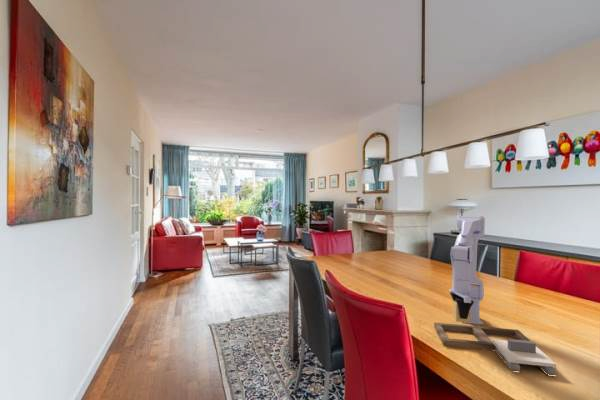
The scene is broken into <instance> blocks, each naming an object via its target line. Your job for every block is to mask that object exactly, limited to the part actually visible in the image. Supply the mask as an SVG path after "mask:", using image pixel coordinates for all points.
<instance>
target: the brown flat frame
mask: <svg viewBox="0 0 600 400" xmlns="http://www.w3.org/2000/svg"><path fill="white" fill-rule="evenodd" d="M433 324H434V330H435V332H436V334H437V335H438V337H439V341H441V344H442V346H443V345H446V347H453V346H458V347H457V348H463V347H468V348H467V349H472V348H476V349H475V350H482V349H485V350H486V351H492V350H495V351H494V352H495V353H496V352H497V353H498V354H499V355H500V356H501V357H502V359H503V360H504V361H505V362H506V364H507V365H508V366H509V367H510V368H511V370H512V371H519V372H520V373H521V366H520V363H511V362H508V361H507V359H506V358H505V357H504V356H503V355H502V354H501V352H500V351H499V350H498V349H497V348H496V346H495V345H494V344H493V343H492V340H491V338H490V337H489V335H492V336H504V337H514V338H515V340H525V341H531V339H529V338H528V337H527V336H526V335H525V334H524V333H523V332H521V331H520V330H519V329H511V328H499V327H488V326H477V325H468V324H467V325H466V324H455V323H444V322H443V323H442V322H434V323H433ZM445 331H451V332H461V333H470V332H471V333H472V335H473V336H474V337H475V339H476V338H477V339H476V340H471V339H470V340H468V339H457V338H449V336H448V335H447V333H446V332H445ZM471 333H470V334H471ZM536 347H538V346H537V345H536ZM485 350H484V351H485ZM497 353H496V354H497ZM498 354H497V355H498ZM499 355H498V356H499ZM500 356H499V357H500ZM502 359H501V360H502ZM503 360H502V361H503ZM504 361H503V362H504ZM505 362H504V363H505ZM506 364H505V365H506ZM507 365H506V366H507ZM508 366H507V367H508ZM509 367H508V368H509ZM539 367H540V368H542V369H543V370H544V371H545V372H546V373H547V374H549V375H556V376H557V370H556V368H555V367H547V366H539ZM539 367H538V368H539ZM540 368H539V369H540ZM511 370H510V371H511ZM512 371H511V372H512Z"/></svg>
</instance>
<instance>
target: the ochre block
mask: <svg viewBox="0 0 600 400" xmlns="http://www.w3.org/2000/svg"><path fill="white" fill-rule="evenodd" d="M452 318H453V319H454V320H455V322H456V323H457V322H459V323H462V322H467V323H466V324H471V323H470V310H469V314H468V317H467V319H461V318H460V315H459V309H458V305H457V302H456V301H453V300H452Z"/></svg>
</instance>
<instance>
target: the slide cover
mask: <svg viewBox="0 0 600 400" xmlns="http://www.w3.org/2000/svg"><path fill="white" fill-rule="evenodd" d="M491 341H492V343H493V344H494V345H495V346H496V348H497V349H498V350H499V351H500V352H501V354H502V355H503V356H504V357H505V358H506V359H507V361H508V362H511V363H518V364H519V365H530V366H537V365H538V366H547V367H553V368H557V364H556V362H555V361H553V359H551V358H550V357H549V356H548V355H547V354H545V353H544V352H543V351H542V350H541V349H540V348H539V347H538V346H537V343H536V342H534V341H532V340H530V341H525V340H517V339H512V338H507V340H502V339H492V340H491ZM536 346H537V347H536ZM538 366H537V367H538Z"/></svg>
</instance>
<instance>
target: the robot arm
mask: <svg viewBox="0 0 600 400" xmlns="http://www.w3.org/2000/svg"><path fill="white" fill-rule="evenodd" d="M485 221H486V220H485V216H483V215H460V214H459V215H458V216H457V218H456V227H457V230H458V233H459V234H458V235H457V236H456V239H455V241H454V245H453V246H451V248H450V260H451V262H450V264H451V266H452V288H449V289H448V291H449V294H450V297H451V298H452V302H453V301H456V302H457V305H458V309H459V315H460V318H461V319H467V317H468V314H469V310H470V323H469V324H472V325H473V324H474V325H481V326H482V325H484V322H483V321H482V320H481V319H480V318H481V317H480V311H481V310H480V306H481V305H480V301H483V300H484V293H485V292H484V291H485V288H484V287H485V286H484V282H483V280H482V279H481V278H479V277H478V276H477V263H478V261H477V260H478V259H477V258H478V242H479V238H483V237H484V235H485V227H486V222H485ZM461 323H462V324H468V323H467V322H461Z"/></svg>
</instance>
